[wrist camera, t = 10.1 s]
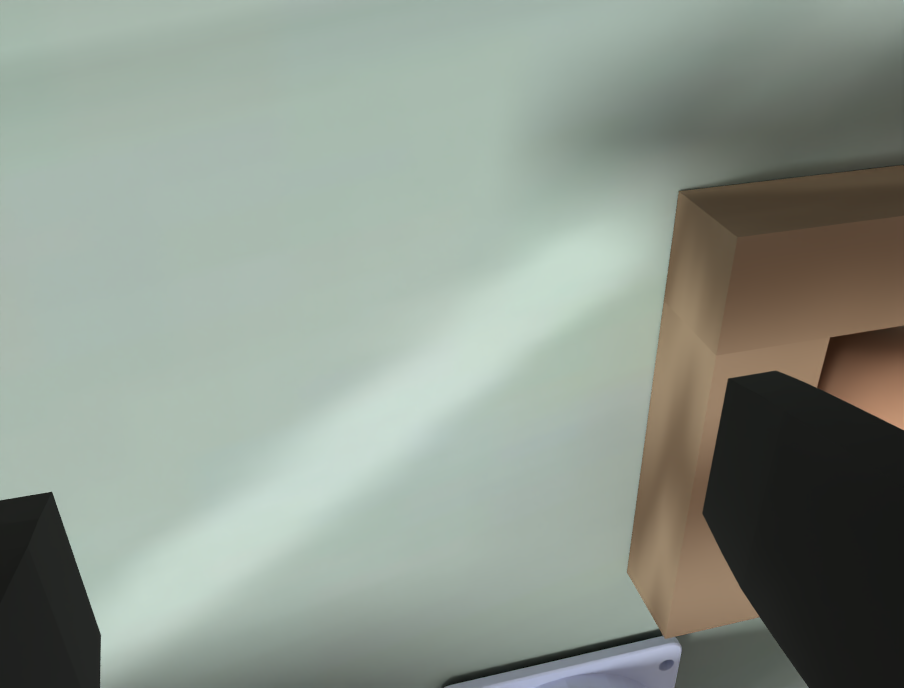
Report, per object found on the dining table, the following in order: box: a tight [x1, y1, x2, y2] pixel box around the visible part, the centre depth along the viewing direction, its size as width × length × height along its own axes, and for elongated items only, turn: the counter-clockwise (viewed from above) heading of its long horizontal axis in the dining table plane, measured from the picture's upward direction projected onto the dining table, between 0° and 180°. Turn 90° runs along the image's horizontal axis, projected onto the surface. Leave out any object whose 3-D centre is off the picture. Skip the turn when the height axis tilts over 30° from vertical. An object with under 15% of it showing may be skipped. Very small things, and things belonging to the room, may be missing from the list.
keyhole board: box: [627, 165, 904, 639], centre depth 23 cm, size 12×12×2 cm
